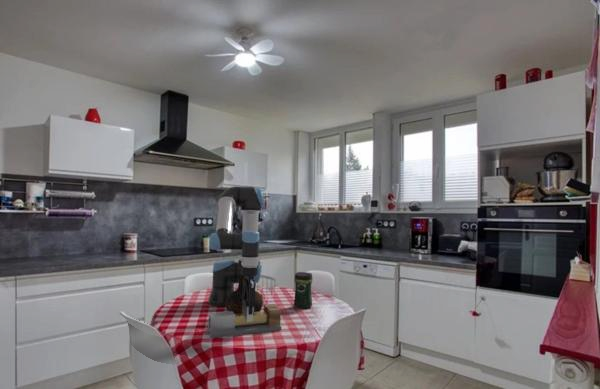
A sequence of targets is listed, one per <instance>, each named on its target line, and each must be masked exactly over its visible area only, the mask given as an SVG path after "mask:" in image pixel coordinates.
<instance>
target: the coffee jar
mask: <svg viewBox="0 0 600 389" xmlns="http://www.w3.org/2000/svg"><path fill="white" fill-rule="evenodd" d="M312 283H313V275H312V273H311V272H304V271H297V272H296V273H295V275H294V284H295V290H294V298H293V300H294V302H293V305H294V307H295V308H298V309H310V308H312V306H313V296H312Z"/></svg>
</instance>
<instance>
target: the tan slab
mask: <svg viewBox="0 0 600 389" xmlns="http://www.w3.org/2000/svg"><path fill="white" fill-rule="evenodd" d="M246 306H248V301H247V299H242V313H240V314H235V326H238V325H247V324H256V323H266V322H267V321H268V313H267V312H266V311H264V310H263V311H262V310H261V311H260V312H254V307H253V322H246V317H247V307H246Z"/></svg>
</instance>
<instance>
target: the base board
mask: <svg viewBox="0 0 600 389" xmlns="http://www.w3.org/2000/svg"><path fill="white" fill-rule="evenodd" d="M208 326H209V324H207V326H206V327H207V328H208V329H207V330H208V333H210V334H209V336H210V339H216V338H215V337H219V338H225V336H227V337H235V336H242V335H250V334H252V335H253V334H261V333H269V332H276V331H282V325H280V326H272V327H269V326H268V324H267V323H256V324H247V325H238V326H235V329H233V330H224V331H215V332H210V330H209V327H208Z"/></svg>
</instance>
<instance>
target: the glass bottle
mask: <svg viewBox="0 0 600 389" xmlns="http://www.w3.org/2000/svg"><path fill="white" fill-rule="evenodd" d="M238 262H239V261H238ZM239 264H240V277H239V283H237V284H238V286H237V288H236V290H234V292H232V293H230V294H229V296H228V297H227V299H226V306H225V308H226V311H233V313H234V314H240V313H242V294H243V277H245V276H242V275H241V267H242V265H241V262H239ZM263 307H264V300H263V296H262V294H260V293H259V292H258V291H256V290H255V306H254V312H261V311H262V308H263Z"/></svg>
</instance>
